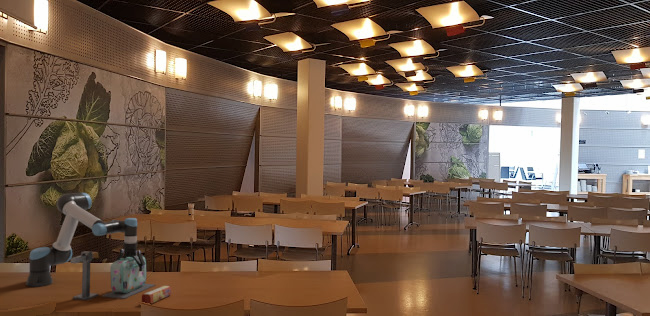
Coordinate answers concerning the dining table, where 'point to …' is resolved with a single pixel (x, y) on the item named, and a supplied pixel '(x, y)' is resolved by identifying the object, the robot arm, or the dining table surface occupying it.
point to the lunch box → (127, 275)
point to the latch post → (86, 279)
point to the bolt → (84, 257)
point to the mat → (126, 295)
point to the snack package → (156, 294)
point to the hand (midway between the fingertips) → (130, 275)
